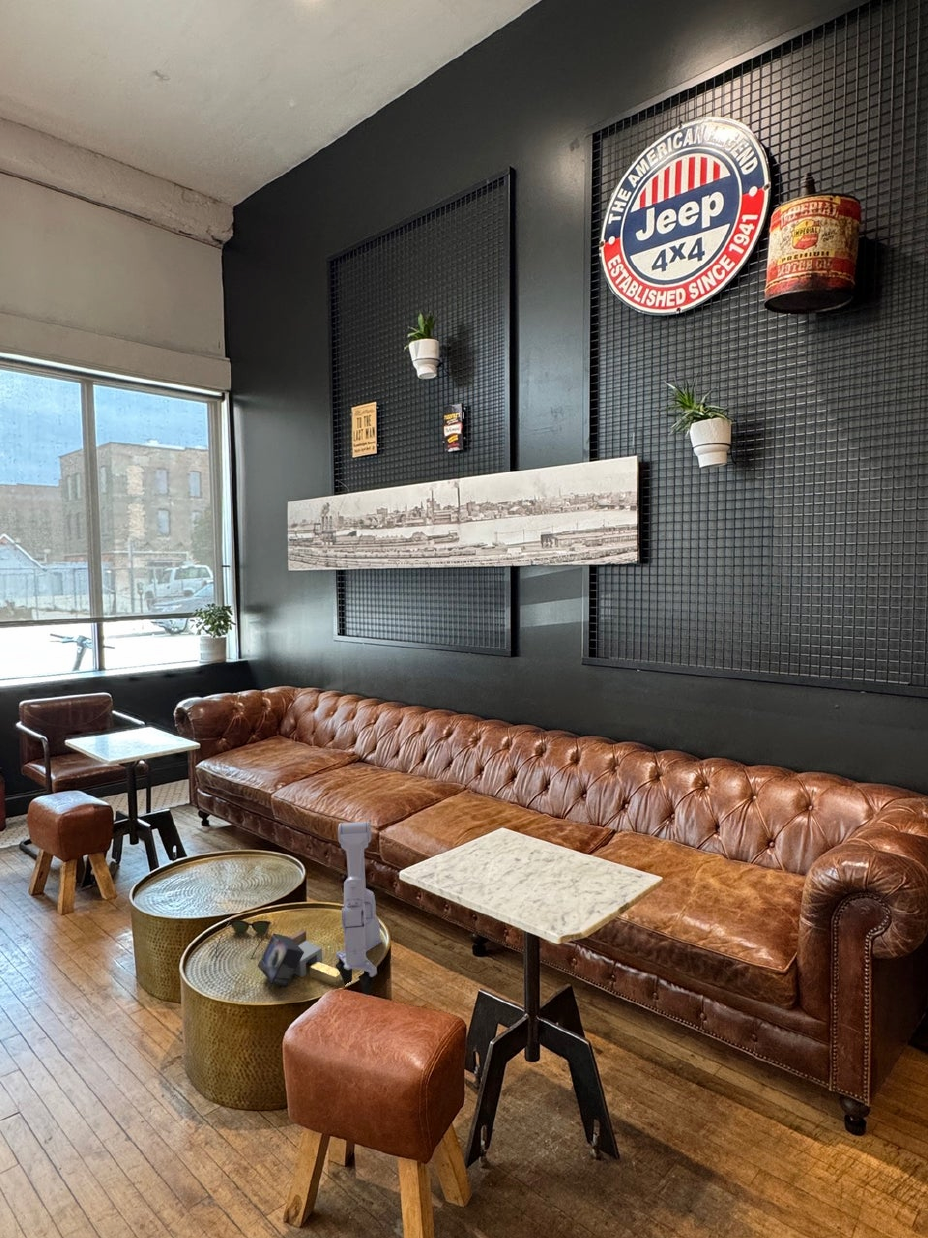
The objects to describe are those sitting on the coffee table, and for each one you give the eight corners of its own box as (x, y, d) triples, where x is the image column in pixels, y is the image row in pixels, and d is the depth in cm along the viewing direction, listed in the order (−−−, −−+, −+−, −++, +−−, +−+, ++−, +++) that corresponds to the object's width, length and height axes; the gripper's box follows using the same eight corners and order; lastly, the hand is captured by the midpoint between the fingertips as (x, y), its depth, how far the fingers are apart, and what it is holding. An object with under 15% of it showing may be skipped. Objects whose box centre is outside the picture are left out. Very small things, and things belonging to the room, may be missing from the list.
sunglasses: (272, 934, 243) (271, 920, 242) (255, 964, 228) (254, 950, 227) (230, 932, 244) (229, 919, 243) (211, 963, 230) (209, 949, 229)
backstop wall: (302, 946, 234) (301, 929, 233) (306, 949, 233) (305, 931, 232) (269, 967, 224) (268, 948, 223) (273, 969, 223) (272, 951, 222)
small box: (255, 966, 218) (272, 931, 221) (272, 970, 222) (289, 936, 225) (270, 983, 210) (288, 947, 213) (288, 987, 214) (305, 952, 217)
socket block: (307, 955, 229) (306, 940, 229) (322, 963, 225) (321, 948, 224) (286, 969, 223) (285, 953, 222) (301, 977, 218) (300, 961, 218)
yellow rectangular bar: (317, 971, 222) (316, 961, 221) (343, 981, 217) (342, 971, 216) (310, 977, 219) (309, 967, 219) (335, 987, 214) (335, 977, 214)
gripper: (327, 944, 209) (329, 987, 211) (363, 961, 200) (365, 1007, 202) (345, 932, 215) (347, 975, 216) (381, 949, 206) (383, 993, 208)
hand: (357, 990), depth 210 cm, fingers open, 7 cm apart
